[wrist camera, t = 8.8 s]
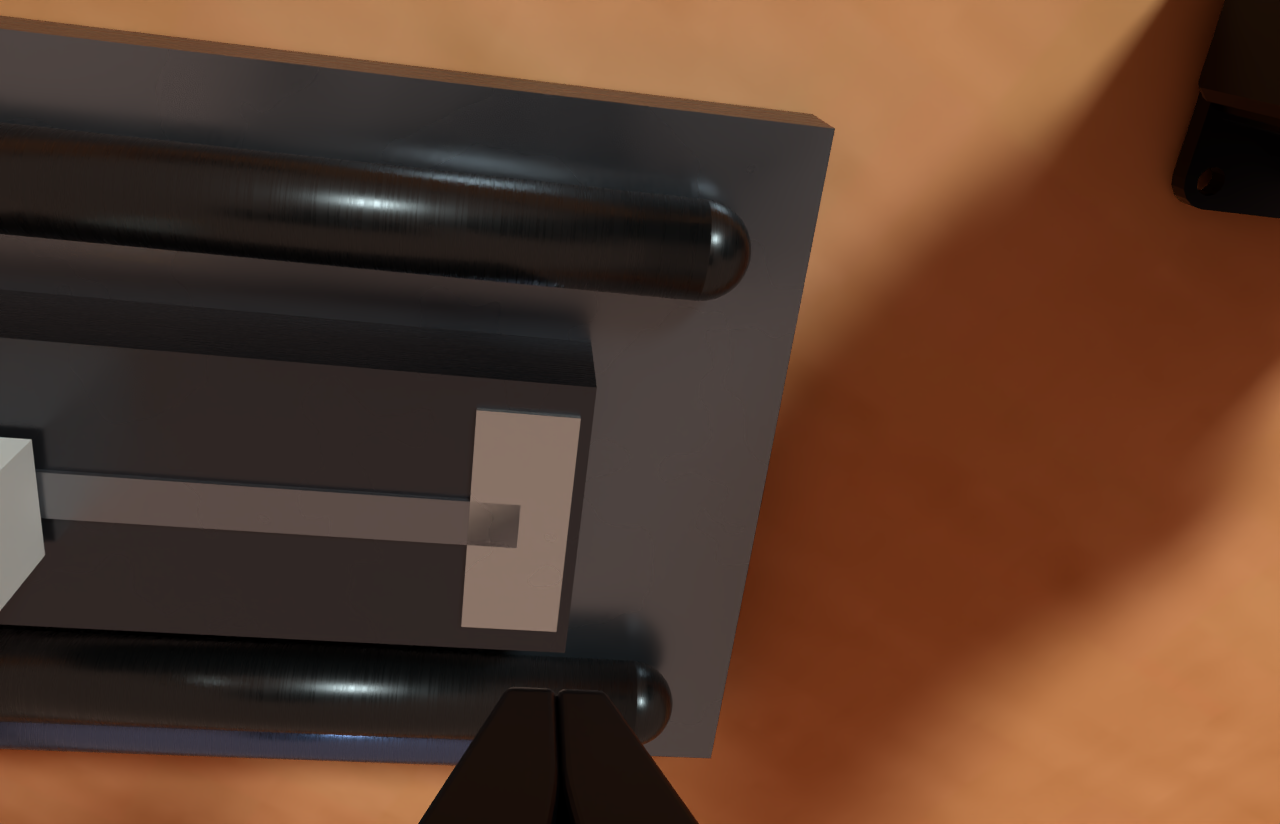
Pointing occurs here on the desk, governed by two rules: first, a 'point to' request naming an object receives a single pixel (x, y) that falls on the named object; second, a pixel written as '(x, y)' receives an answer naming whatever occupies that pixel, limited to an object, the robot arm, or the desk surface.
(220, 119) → the panel
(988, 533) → the desk surface
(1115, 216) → the desk surface
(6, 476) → the lever
